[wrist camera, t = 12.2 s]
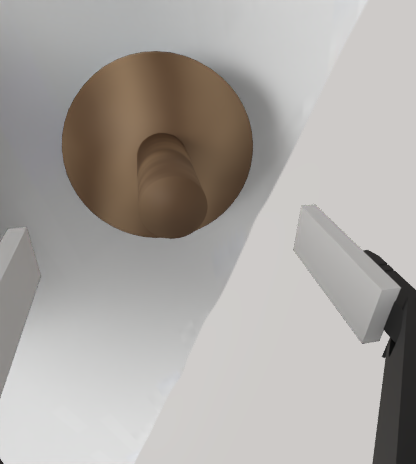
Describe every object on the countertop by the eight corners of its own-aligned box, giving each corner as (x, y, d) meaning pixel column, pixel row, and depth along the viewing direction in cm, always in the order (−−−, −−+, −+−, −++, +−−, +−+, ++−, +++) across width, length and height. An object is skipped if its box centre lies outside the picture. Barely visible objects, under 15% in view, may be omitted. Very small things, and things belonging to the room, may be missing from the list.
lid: (81, 236, 31) (61, 318, 22) (45, 49, 23) (-5, 64, 15) (241, 225, 34) (278, 294, 25) (257, 52, 26) (318, 67, 17)
